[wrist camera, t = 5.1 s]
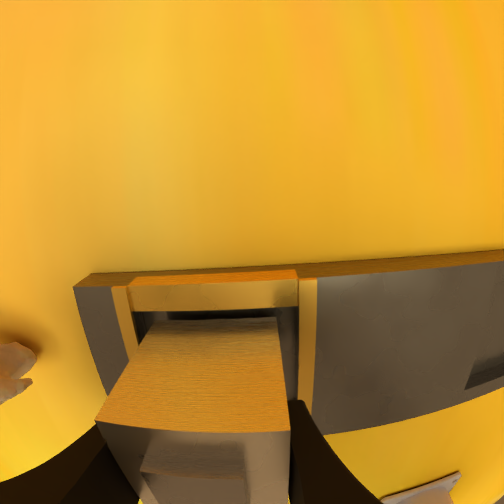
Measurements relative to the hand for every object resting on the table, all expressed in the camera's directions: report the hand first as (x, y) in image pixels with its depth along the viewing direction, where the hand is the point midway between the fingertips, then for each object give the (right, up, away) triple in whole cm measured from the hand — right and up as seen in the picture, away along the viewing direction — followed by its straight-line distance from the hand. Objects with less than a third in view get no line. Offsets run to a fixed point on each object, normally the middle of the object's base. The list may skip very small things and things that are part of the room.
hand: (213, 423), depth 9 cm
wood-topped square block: (0, +1, +3) cm, 3 cm away
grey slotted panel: (+8, +1, +4) cm, 9 cm away
